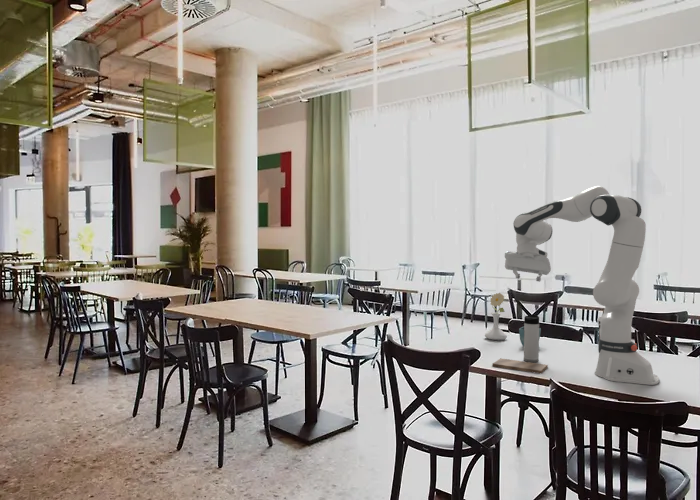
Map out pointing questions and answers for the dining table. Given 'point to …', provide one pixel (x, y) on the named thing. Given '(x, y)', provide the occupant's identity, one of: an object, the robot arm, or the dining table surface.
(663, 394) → the dining table surface
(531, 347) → the travel mug
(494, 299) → the flower in vase
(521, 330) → the flower pot
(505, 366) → the walnut board
